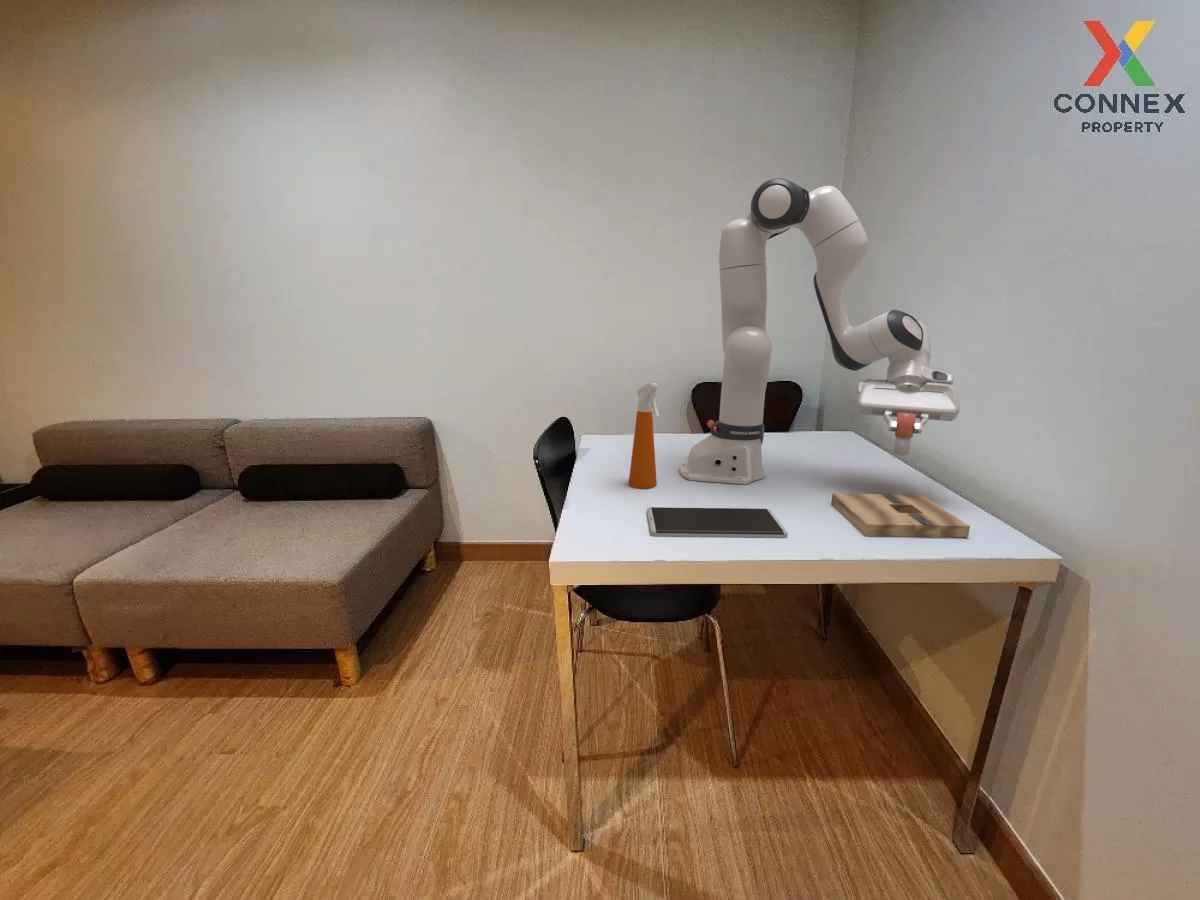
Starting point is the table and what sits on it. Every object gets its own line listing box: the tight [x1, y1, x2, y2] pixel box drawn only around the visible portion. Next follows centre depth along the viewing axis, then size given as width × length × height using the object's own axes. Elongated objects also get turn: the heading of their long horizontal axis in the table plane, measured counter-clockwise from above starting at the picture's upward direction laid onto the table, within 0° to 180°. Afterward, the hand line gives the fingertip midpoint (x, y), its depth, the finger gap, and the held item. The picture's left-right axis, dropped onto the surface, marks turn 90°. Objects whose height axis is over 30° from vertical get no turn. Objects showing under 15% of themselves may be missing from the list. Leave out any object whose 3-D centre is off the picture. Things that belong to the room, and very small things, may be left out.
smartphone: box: [646, 506, 789, 539], centre depth 115 cm, size 13×27×2 cm, turn 89°
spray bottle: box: [628, 382, 660, 490], centre depth 134 cm, size 7×11×26 cm, turn 22°
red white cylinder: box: [893, 412, 917, 456], centre depth 123 cm, size 4×4×9 cm
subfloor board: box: [830, 492, 971, 538], centre depth 117 cm, size 20×18×3 cm
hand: (904, 431), depth 122 cm, fingers closed on red white cylinder, 4 cm apart
